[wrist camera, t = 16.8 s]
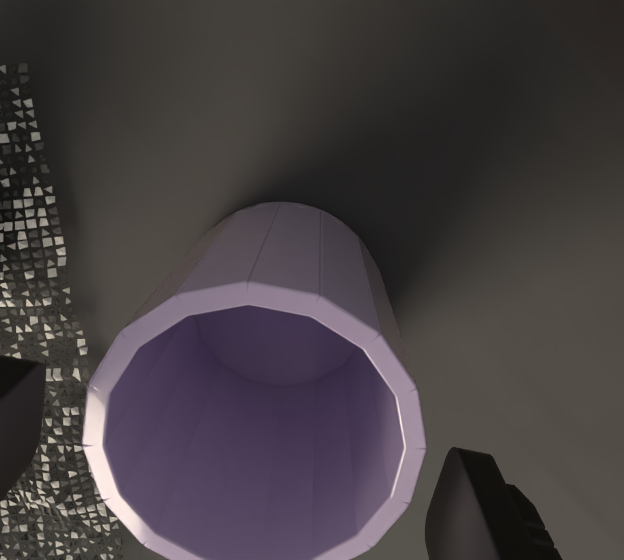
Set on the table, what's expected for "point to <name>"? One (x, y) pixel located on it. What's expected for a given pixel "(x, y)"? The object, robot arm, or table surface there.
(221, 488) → the lavender cup
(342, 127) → the table surface
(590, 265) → the table surface
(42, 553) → the rug
